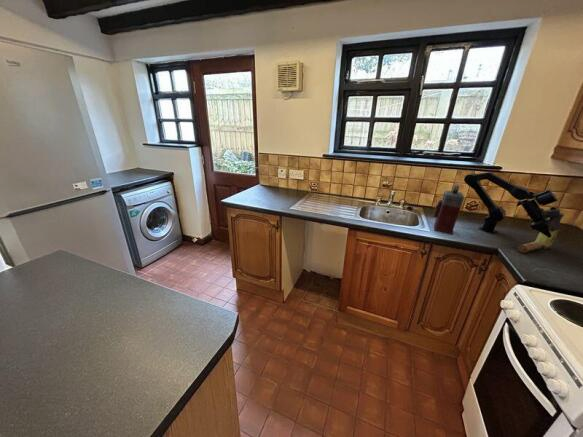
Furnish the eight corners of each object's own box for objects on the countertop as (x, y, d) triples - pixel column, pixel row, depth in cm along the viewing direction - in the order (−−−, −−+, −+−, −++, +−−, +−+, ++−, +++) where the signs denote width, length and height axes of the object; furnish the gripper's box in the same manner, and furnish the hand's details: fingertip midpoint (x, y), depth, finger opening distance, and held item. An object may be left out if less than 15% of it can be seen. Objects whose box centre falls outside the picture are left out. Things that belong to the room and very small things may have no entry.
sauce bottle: (549, 251, 128) (569, 216, 119) (533, 247, 131) (551, 213, 123) (547, 246, 132) (566, 212, 124) (532, 242, 136) (549, 209, 128)
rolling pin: (523, 254, 123) (526, 248, 122) (514, 250, 127) (517, 244, 125) (541, 249, 129) (545, 243, 127) (532, 246, 132) (535, 239, 130)
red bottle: (429, 224, 153) (442, 181, 142) (450, 228, 149) (465, 184, 137) (430, 230, 146) (443, 185, 135) (451, 234, 141) (467, 188, 130)
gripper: (550, 206, 119) (571, 234, 116) (554, 199, 130) (573, 224, 127) (522, 215, 127) (541, 242, 124) (528, 208, 139) (546, 232, 136)
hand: (551, 235), depth 128 cm, fingers closed on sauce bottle, 6 cm apart
